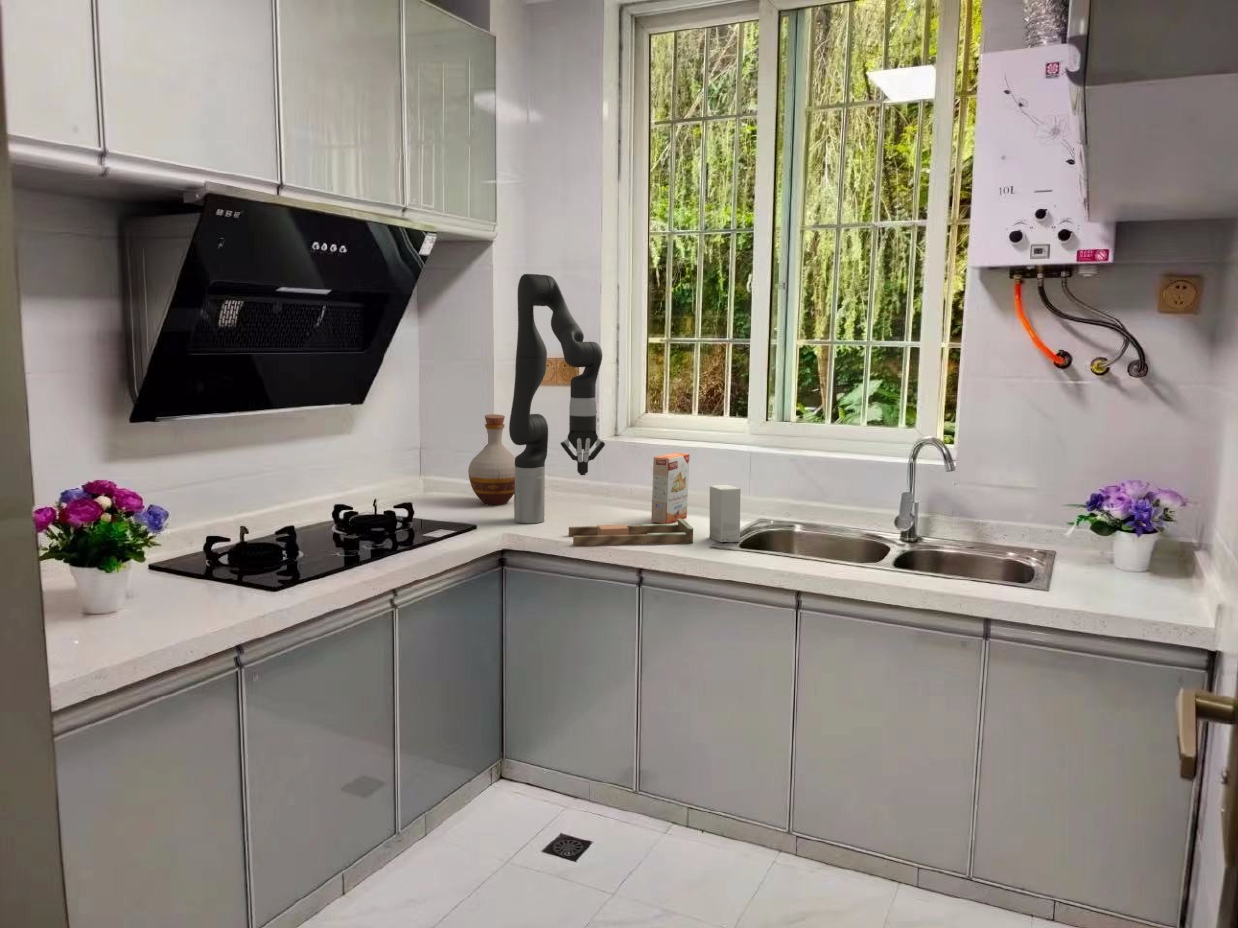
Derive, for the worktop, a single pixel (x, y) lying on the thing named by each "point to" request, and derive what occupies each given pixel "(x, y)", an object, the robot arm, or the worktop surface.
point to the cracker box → (670, 488)
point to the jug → (493, 466)
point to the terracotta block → (612, 530)
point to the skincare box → (725, 513)
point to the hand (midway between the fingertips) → (582, 474)
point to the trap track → (635, 535)
